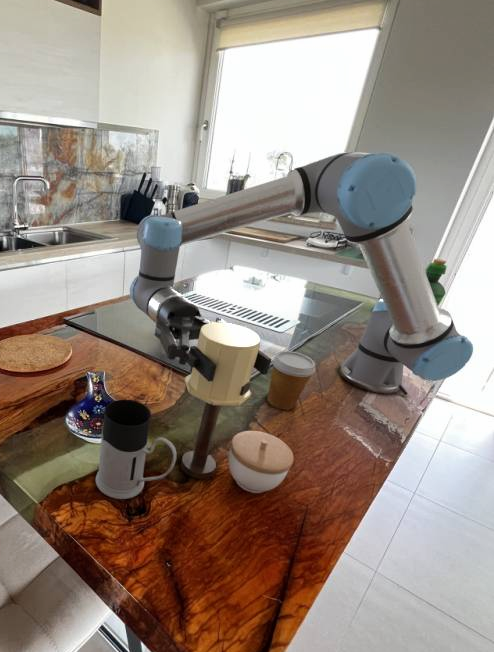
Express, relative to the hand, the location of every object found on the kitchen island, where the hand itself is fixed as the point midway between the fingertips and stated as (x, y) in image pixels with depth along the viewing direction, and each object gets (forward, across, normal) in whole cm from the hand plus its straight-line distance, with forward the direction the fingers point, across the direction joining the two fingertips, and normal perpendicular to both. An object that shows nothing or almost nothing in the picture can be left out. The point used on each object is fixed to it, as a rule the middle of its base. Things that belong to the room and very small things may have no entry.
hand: (240, 370), depth 63 cm
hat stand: (-4, 0, -24) cm, 24 cm away
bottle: (-41, -101, -24) cm, 112 cm away
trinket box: (+2, -8, -24) cm, 25 cm away
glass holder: (-3, +14, -24) cm, 28 cm away
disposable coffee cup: (-20, -32, -24) cm, 45 cm away
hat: (-4, 0, -6) cm, 7 cm away
